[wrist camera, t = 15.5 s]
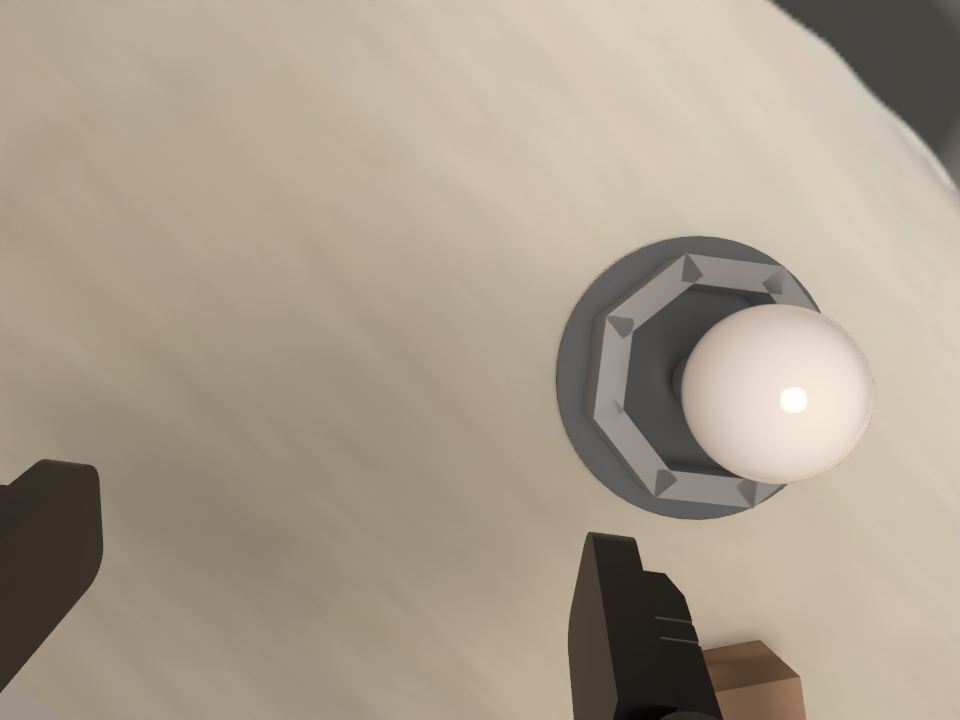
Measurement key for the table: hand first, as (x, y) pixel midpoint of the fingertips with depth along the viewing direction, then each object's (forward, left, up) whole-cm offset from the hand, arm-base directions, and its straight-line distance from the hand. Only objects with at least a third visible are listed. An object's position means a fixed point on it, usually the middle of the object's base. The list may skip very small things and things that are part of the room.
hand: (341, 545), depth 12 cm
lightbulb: (+13, +3, -22) cm, 26 cm away
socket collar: (+13, +3, -22) cm, 26 cm away
